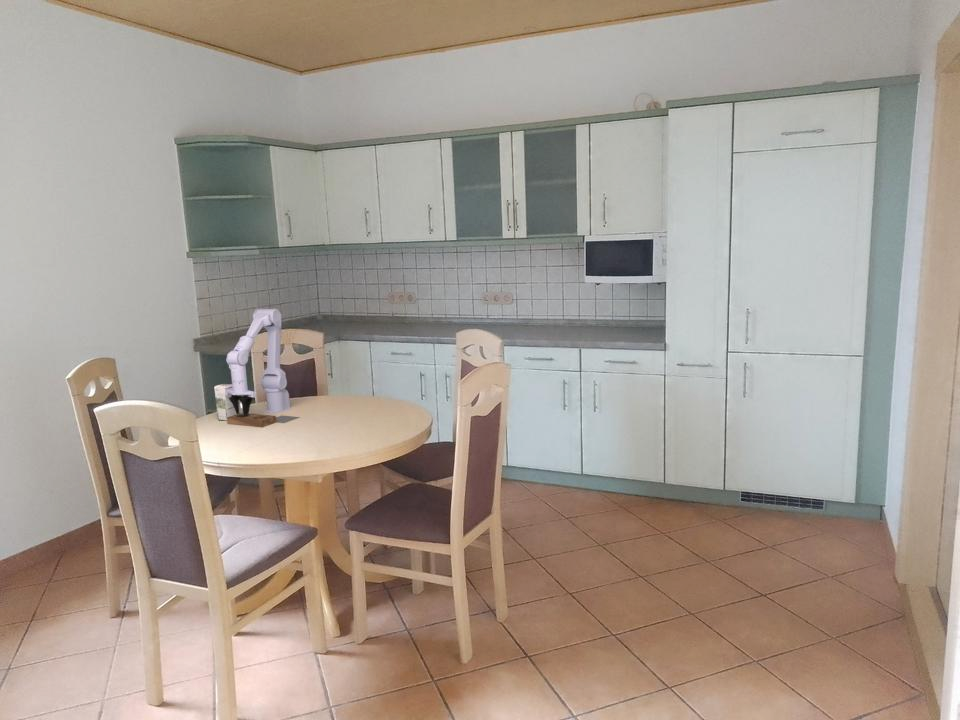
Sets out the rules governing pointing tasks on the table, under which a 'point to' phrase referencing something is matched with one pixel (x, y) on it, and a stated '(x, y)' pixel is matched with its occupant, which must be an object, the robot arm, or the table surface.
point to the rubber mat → (285, 419)
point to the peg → (241, 409)
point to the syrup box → (224, 402)
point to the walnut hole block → (252, 420)
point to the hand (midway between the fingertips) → (242, 413)
